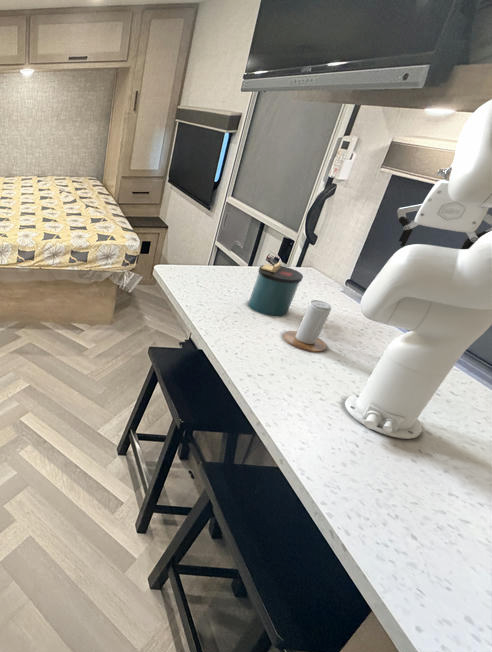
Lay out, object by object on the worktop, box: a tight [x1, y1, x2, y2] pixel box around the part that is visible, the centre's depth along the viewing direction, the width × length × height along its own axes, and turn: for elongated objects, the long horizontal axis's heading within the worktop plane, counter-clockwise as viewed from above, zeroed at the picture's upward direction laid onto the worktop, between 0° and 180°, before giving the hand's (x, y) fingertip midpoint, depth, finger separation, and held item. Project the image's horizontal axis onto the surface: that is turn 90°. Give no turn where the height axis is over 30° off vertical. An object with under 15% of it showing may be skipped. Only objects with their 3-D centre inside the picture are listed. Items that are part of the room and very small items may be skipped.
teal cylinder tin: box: [247, 264, 304, 318], centre depth 128 cm, size 12×12×13 cm
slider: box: [260, 262, 282, 273], centre depth 127 cm, size 4×4×2 cm
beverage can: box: [296, 299, 332, 344], centre depth 111 cm, size 5×5×12 cm
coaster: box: [283, 330, 327, 353], centre depth 114 cm, size 10×10×1 cm
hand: (429, 250), depth 95 cm, fingers open, 9 cm apart
